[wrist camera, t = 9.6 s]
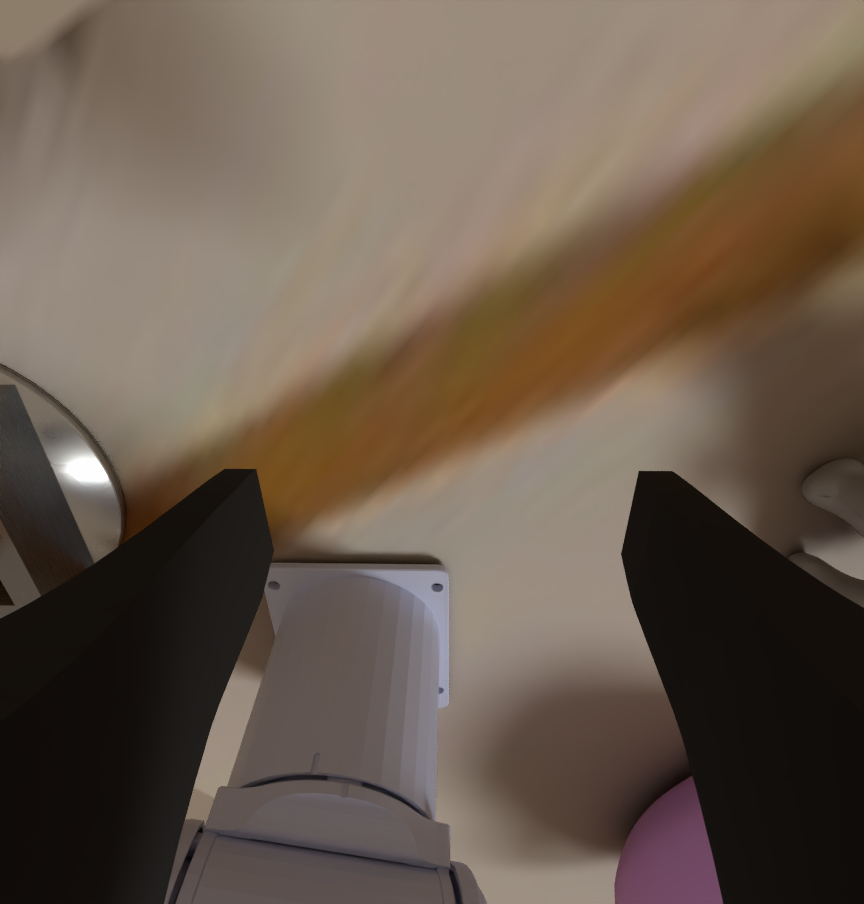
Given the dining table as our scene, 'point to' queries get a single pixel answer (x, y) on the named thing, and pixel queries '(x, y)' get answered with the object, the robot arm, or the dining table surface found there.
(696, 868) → the teapot
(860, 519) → the gray elephant figurine
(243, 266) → the dining table surface
